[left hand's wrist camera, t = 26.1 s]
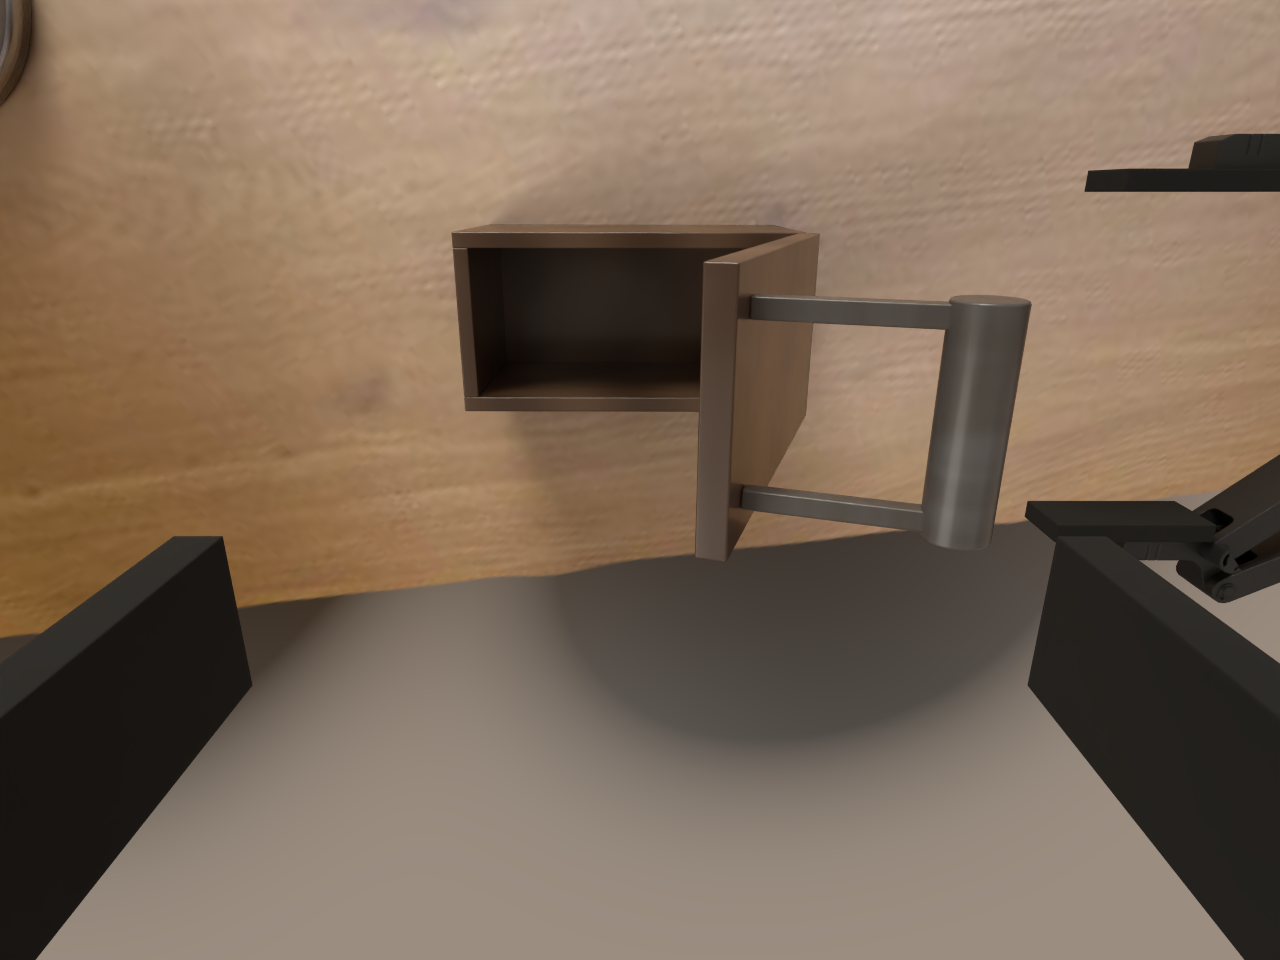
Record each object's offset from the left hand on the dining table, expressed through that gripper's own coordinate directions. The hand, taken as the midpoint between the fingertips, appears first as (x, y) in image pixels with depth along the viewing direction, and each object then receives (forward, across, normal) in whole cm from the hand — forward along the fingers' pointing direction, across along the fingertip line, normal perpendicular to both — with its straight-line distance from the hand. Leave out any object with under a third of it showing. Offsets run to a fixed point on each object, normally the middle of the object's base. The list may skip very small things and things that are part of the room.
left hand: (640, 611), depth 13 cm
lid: (+20, +5, 0) cm, 21 cm away
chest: (+39, 0, 0) cm, 39 cm away
